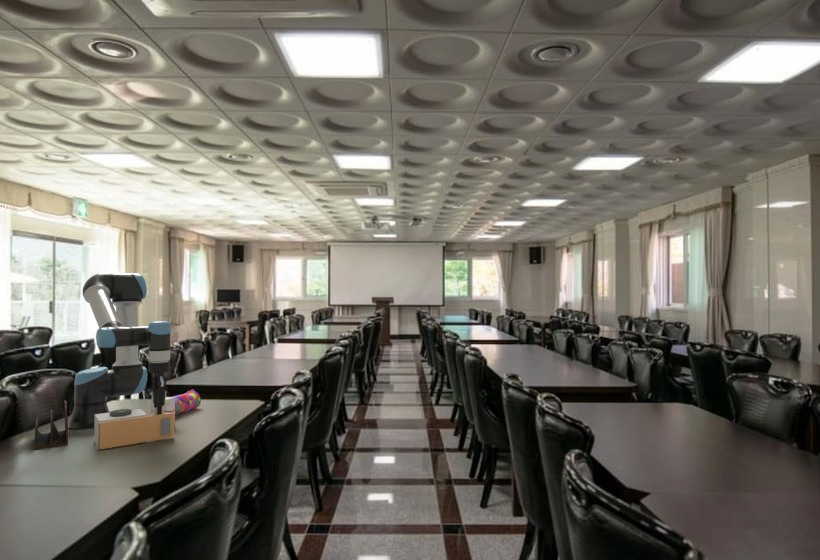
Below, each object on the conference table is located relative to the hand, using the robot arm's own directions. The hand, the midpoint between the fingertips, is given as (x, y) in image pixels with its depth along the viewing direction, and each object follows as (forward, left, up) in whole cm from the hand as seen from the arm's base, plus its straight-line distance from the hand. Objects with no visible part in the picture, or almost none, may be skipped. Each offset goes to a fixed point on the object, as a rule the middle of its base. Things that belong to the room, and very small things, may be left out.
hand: (158, 423), depth 189 cm
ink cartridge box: (-16, +5, -5) cm, 17 cm away
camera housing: (-1, -13, -5) cm, 14 cm away
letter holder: (-20, -32, -5) cm, 38 cm away
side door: (+6, -8, -5) cm, 12 cm away
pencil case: (-38, +17, -5) cm, 42 cm away
